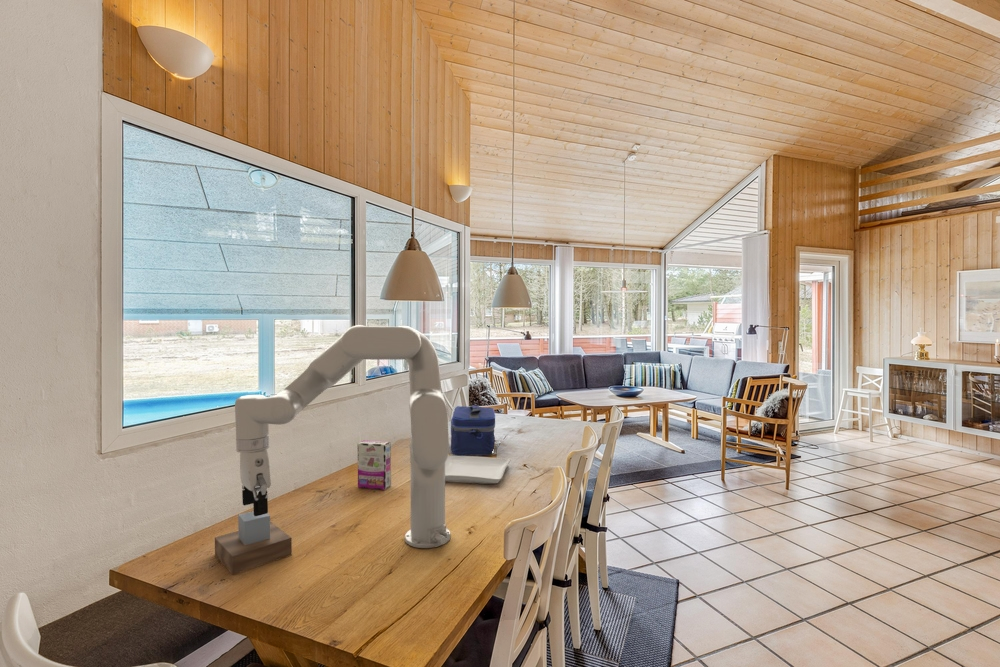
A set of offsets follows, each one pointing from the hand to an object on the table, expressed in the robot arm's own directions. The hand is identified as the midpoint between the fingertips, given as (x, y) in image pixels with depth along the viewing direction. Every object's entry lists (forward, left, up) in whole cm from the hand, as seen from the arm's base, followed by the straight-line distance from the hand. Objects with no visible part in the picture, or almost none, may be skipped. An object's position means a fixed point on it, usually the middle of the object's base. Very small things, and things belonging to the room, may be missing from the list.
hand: (255, 509), depth 126 cm
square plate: (+14, -84, -13) cm, 86 cm away
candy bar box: (+26, -48, -12) cm, 56 cm away
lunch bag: (+44, -109, -12) cm, 118 cm away
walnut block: (0, 0, -12) cm, 12 cm away
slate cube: (0, 0, -7) cm, 7 cm away
